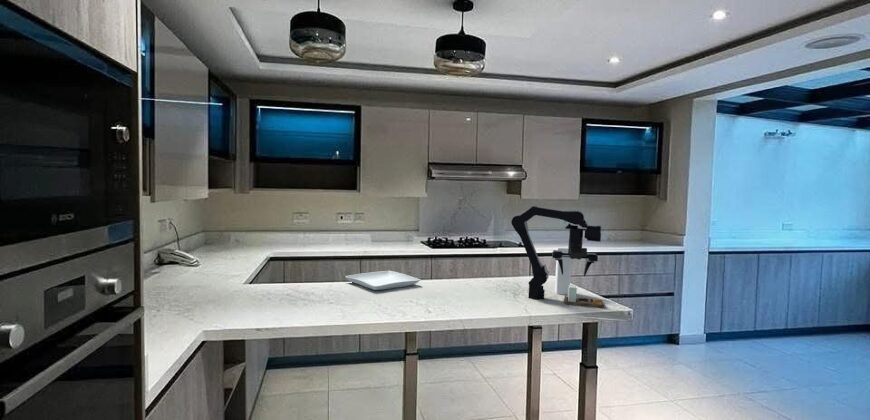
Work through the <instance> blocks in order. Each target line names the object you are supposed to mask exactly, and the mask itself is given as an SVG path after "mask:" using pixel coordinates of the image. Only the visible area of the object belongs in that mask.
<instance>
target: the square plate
mask: <svg viewBox="0 0 870 420" xmlns="http://www.w3.org/2000/svg"><path fill="white" fill-rule="evenodd" d="M345 278H346V280H348V281H349V282H352V283H353V284H354V283H355V284H356V285H359V286H362V287H366V288H367V289H371V290H374V291H383V290H390V289H396V288H397V289H398V288H404V287H408V286H412V285H416V284H418V283H419V282H420V281H421V279H420V278H417V277H414V276H412V275H408V274H405V273H402V272H397V271H394V270H382V271H379V270H378V271H372V272H365V273H364V272H362V273H355V274H350V275H345Z"/></svg>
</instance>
